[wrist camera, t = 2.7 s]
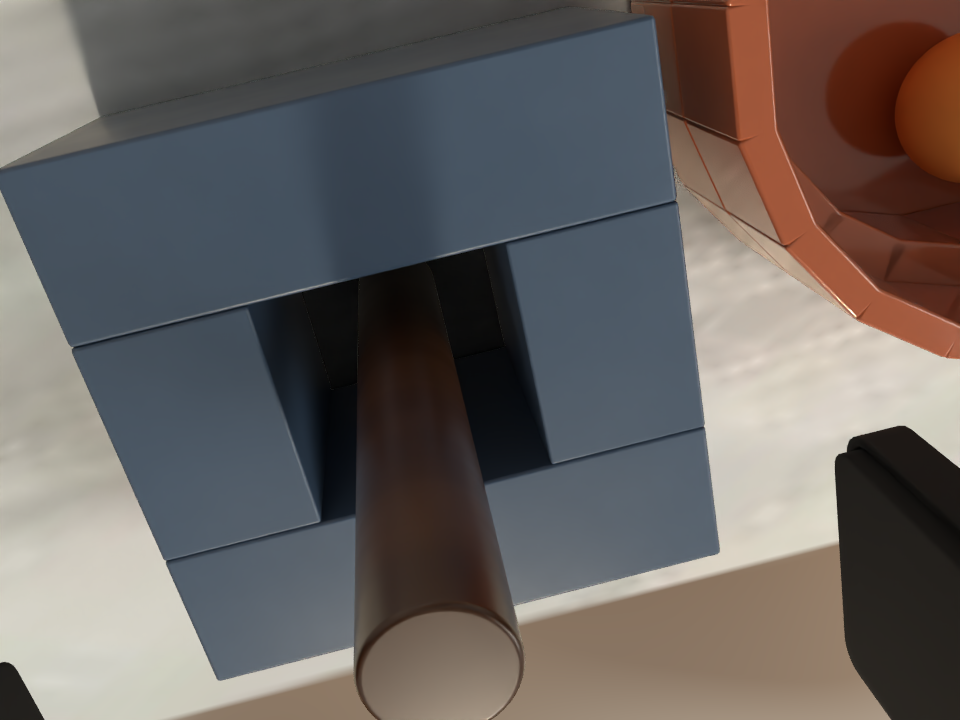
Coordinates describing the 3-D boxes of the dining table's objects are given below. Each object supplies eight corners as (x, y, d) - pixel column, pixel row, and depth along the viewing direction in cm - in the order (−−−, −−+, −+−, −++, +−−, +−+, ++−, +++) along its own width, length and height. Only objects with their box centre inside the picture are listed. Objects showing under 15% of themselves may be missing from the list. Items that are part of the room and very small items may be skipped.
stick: (349, 258, 21) (331, 630, 9) (424, 240, 21) (509, 585, 9) (369, 328, 21) (378, 758, 9) (442, 310, 21) (540, 716, 10)
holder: (98, 117, 19) (-11, 172, 13) (571, 5, 19) (655, 14, 14) (251, 516, 23) (217, 683, 18) (636, 420, 23) (721, 554, 18)
